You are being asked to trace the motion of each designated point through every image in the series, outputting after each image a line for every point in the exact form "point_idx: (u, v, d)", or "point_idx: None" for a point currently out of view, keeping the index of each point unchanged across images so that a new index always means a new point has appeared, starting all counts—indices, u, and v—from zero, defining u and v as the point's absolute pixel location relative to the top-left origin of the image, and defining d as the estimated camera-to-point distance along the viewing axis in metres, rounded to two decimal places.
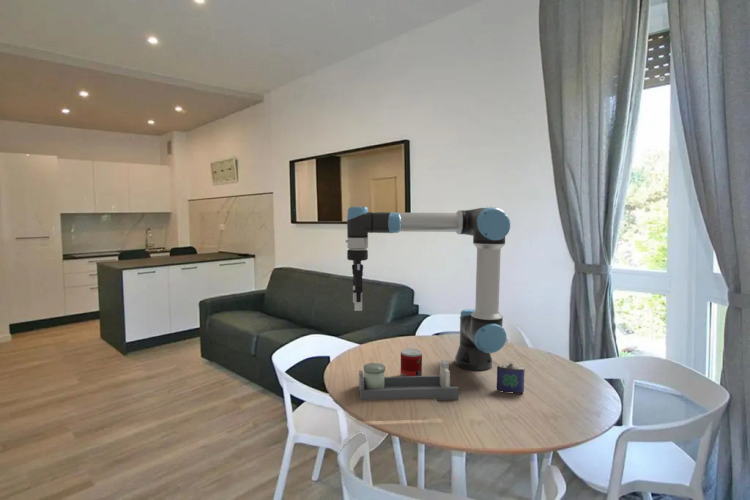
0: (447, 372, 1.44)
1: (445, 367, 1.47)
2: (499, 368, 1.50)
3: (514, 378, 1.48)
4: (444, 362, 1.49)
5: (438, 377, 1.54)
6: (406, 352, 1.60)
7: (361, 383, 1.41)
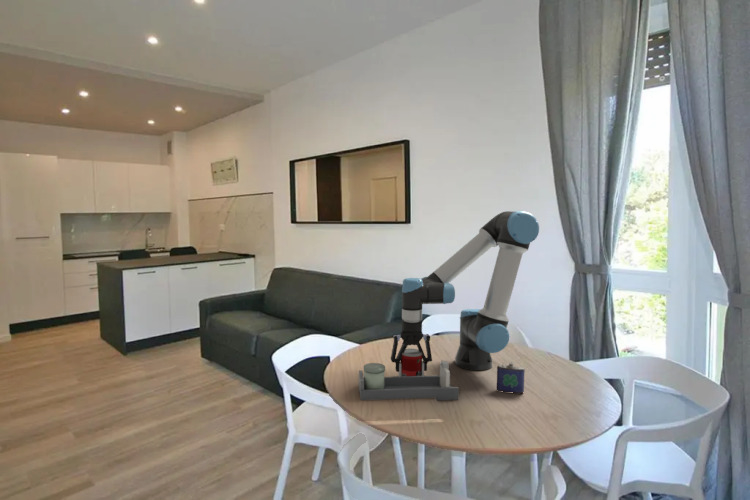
0: (447, 372, 1.44)
1: (445, 367, 1.47)
2: (499, 368, 1.50)
3: (514, 378, 1.48)
4: (444, 362, 1.49)
5: (438, 377, 1.54)
6: (406, 352, 1.60)
7: (361, 383, 1.41)
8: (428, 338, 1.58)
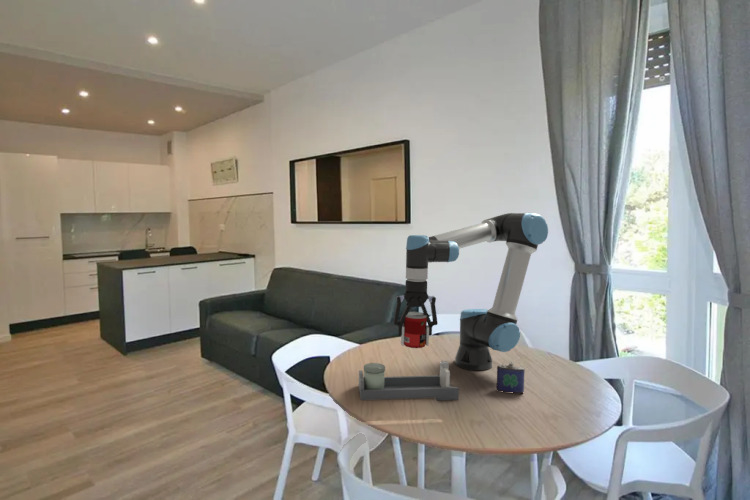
0: (447, 372, 1.44)
1: (445, 367, 1.47)
2: (499, 368, 1.50)
3: (514, 378, 1.48)
4: (444, 362, 1.49)
5: (438, 377, 1.54)
6: (410, 314, 1.49)
7: (361, 383, 1.41)
8: (434, 300, 1.47)
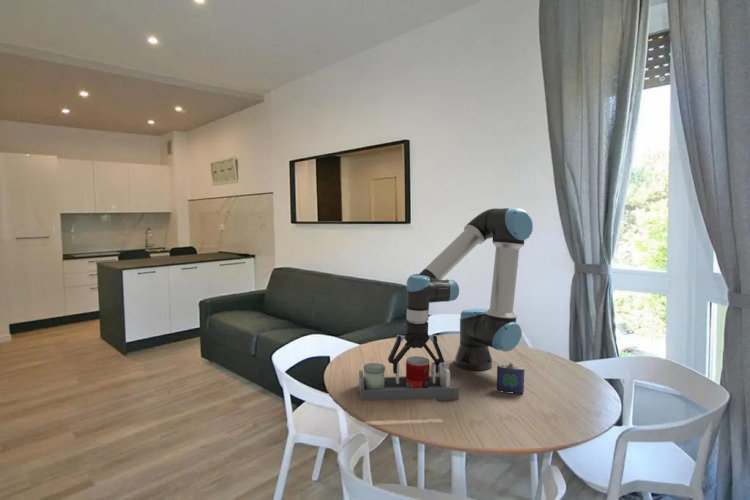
0: (447, 372, 1.44)
1: (445, 367, 1.47)
2: (499, 368, 1.50)
3: (514, 378, 1.48)
4: (444, 362, 1.49)
5: (438, 377, 1.54)
6: (412, 360, 1.48)
7: (361, 383, 1.41)
8: (435, 339, 1.46)
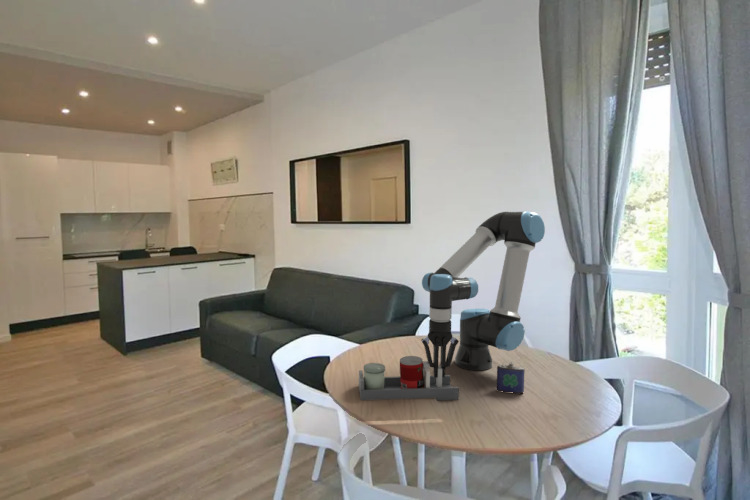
0: (427, 373, 1.43)
1: (426, 368, 1.46)
2: (499, 368, 1.50)
3: (514, 378, 1.48)
4: (425, 362, 1.48)
5: None
6: (405, 360, 1.47)
7: (361, 383, 1.41)
8: (456, 342, 1.47)
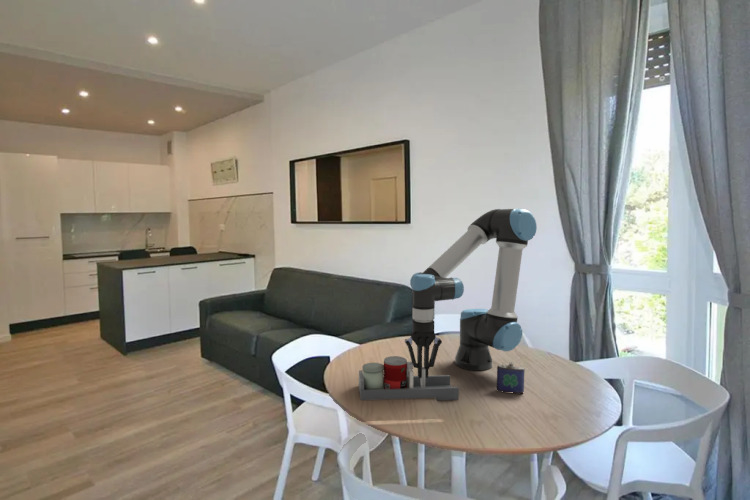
0: (411, 373, 1.43)
1: (409, 368, 1.46)
2: (499, 368, 1.50)
3: (514, 378, 1.48)
4: (408, 363, 1.47)
5: (438, 377, 1.54)
6: (389, 360, 1.47)
7: (361, 383, 1.41)
8: (439, 342, 1.46)
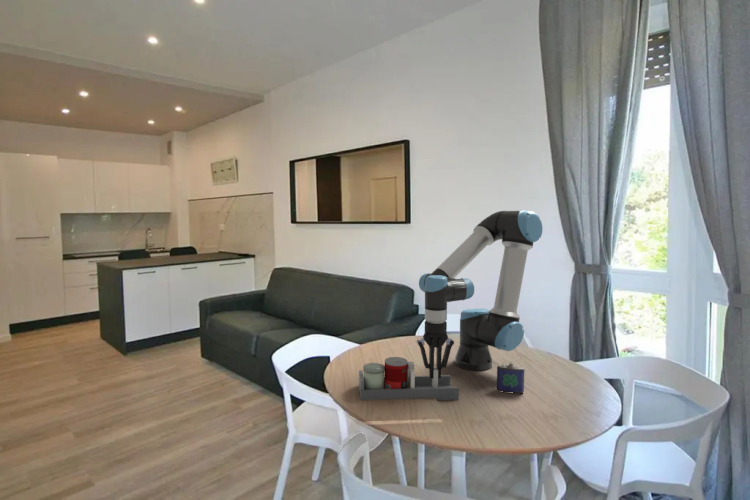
0: (412, 373, 1.43)
1: (411, 368, 1.46)
2: (499, 368, 1.50)
3: (514, 378, 1.48)
4: (410, 363, 1.47)
5: None
6: (390, 361, 1.47)
7: (361, 383, 1.41)
8: (451, 343, 1.47)
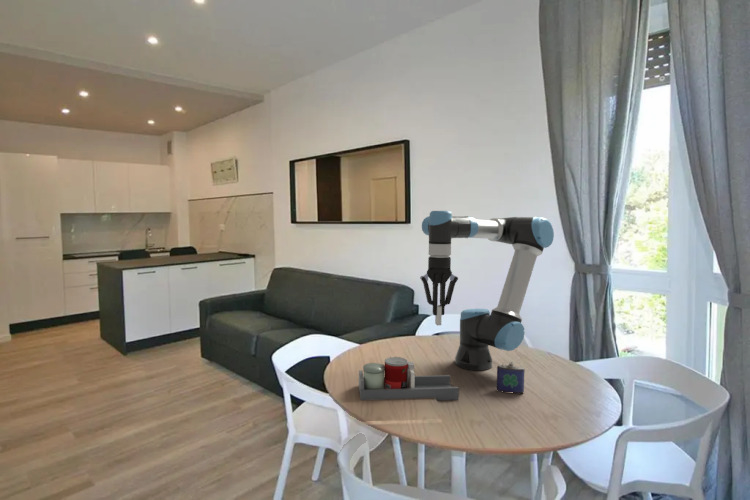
0: (412, 373, 1.43)
1: (411, 368, 1.46)
2: (499, 368, 1.50)
3: (514, 378, 1.48)
4: (410, 363, 1.47)
5: (438, 377, 1.54)
6: (390, 361, 1.47)
7: (361, 383, 1.41)
8: (455, 279, 1.45)
